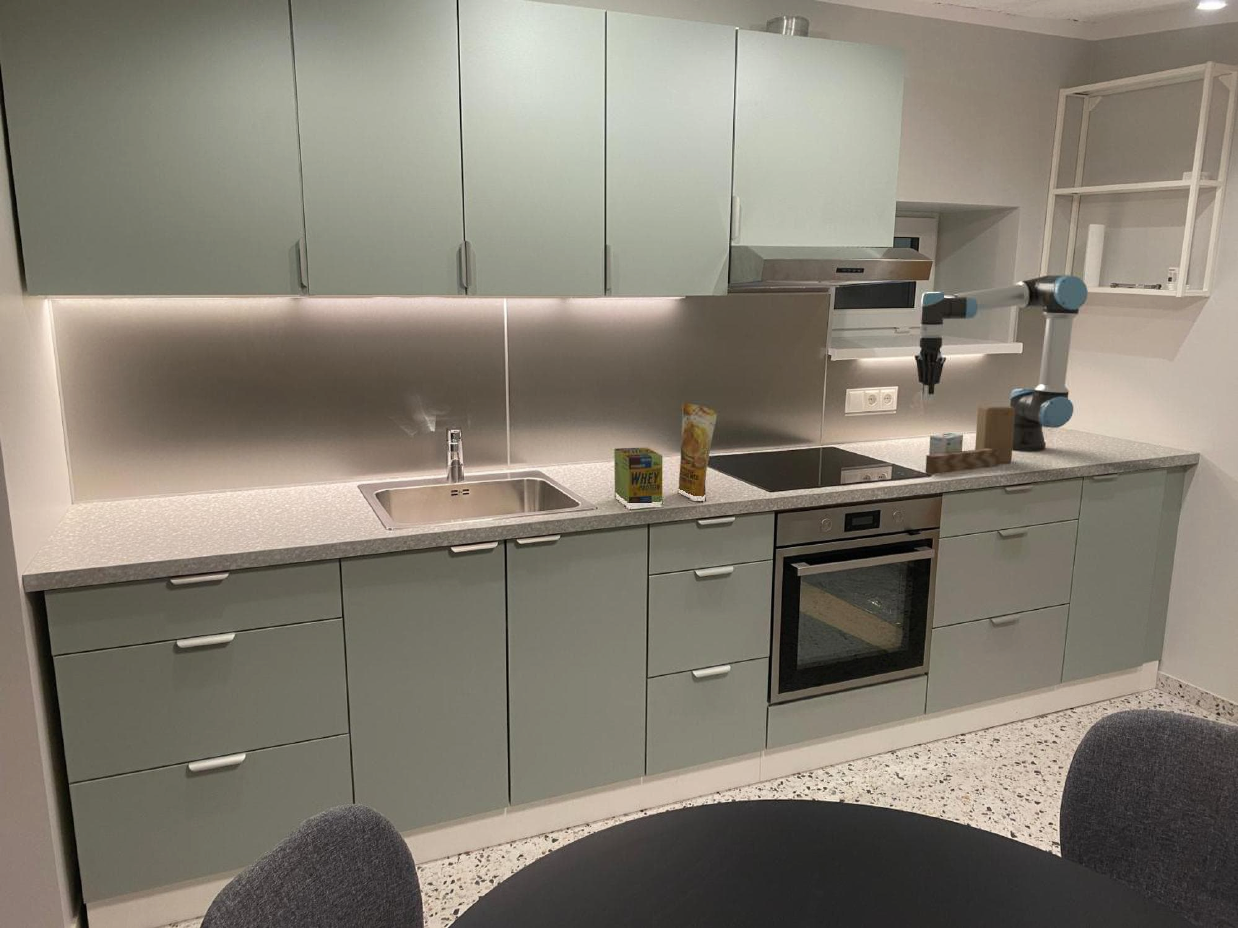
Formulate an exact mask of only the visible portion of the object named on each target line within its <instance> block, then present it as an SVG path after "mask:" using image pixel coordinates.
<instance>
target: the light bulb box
mask: <svg viewBox="0 0 1238 928" xmlns="http://www.w3.org/2000/svg"><path fill="white" fill-rule="evenodd" d="M963 440H964V434H961V433H952V432H951V433H950V432H944V433H939V434H934V435H930V436H929V447H928V448H929V451H928V455H934V454H942V453H951V452H959V451H963Z"/></svg>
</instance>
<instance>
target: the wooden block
mask: <svg viewBox="0 0 1238 928" xmlns="http://www.w3.org/2000/svg"><path fill="white" fill-rule="evenodd" d="M976 417H977V418H976V429H975V430H976V433H975V446H974V448H975V449H974V450H977V449H985V448H996V449H999V457H998V465H999V464H1007V465H1008V464H1011V462H1012V459H1013V450H1012V447H1013V433H1014V420H1015V408H1013V407H1011V406H1010V405H1007V404H1004V403H981V404H978V406H977V416H976Z"/></svg>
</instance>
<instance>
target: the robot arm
mask: <svg viewBox="0 0 1238 928" xmlns="http://www.w3.org/2000/svg"><path fill="white" fill-rule="evenodd" d="M1088 294H1089V292H1088V287H1087V285H1086V283H1085V282H1084V280H1082V279H1081V278H1080V277H1079V276H1076V275H1072V274H1071V275H1070V274H1064V275H1063V274H1061V275H1059V274H1058V275H1051V274H1050V275H1044V276H1040V277H1036V278H1035V277H1034V278H1031V279H1026V280H1020V281H1018V282H1016V283H1015V284H1013V285H1008V286H1006V285H1005V286H1000V287H994V288H987V289H980V290H974V291H968V292H962V293H961V292H960V293H955V294H948V295H945V292H943V291H927V292H923V294H922V296H921V302H920V328H919V329H920V332H919V336H921V337H920V338H919V348H920V351H919V354H918V355H914V359H915V361H916V369H917V376H918V382H919V383H921V384H922V385H923V387H922V393H923V404H925V405H926V404H927V405H928V404H929V405H930V404H933V401H934V400H933V398H934V397H933V395H934V393H935V385H938V384H939V383H940V381H941V377H942V372H943V368H944V364H945V362H946V360H947V358H946V357H945V356H944V357H943V356H942V352H941V348H943V347H942V346H943V337H942V336H943V333H944V332H943V330H944V320H962V319H963V320H967V319H973V318H975V317H976V315H977V313H978V312H985V311H989V310H990V311H991V310H996V309H1004V308H1005V309H1006V308H1010V307H1016V306H1017V307H1019V308H1030V307H1031V308H1042V315H1044V317H1045V319H1046V320H1045V321H1046V322H1045V328H1044V329H1045V331H1044V336H1043V337H1044V338H1043V339H1044V340H1043V345H1042V346H1043V347H1042V355H1041V364H1040V373H1039V380H1038V385H1037V386H1035V387H1034V388H1031V387H1030V388H1014V389H1013V390H1012V391H1011V395H1010V398H1009V399H1010V403H1009V404H1010V405H1009V406H1011V407H1013V408H1015V420H1014V433H1013V447H1012V451H1016V452H1017V451H1018V452H1019V451H1020V452H1041V451H1045V450H1046V445H1047V443H1046V441H1045V438H1044V432H1043V427H1045V428H1051V429H1052V428H1053V429H1057V428H1061V427H1063V426H1064V425H1066V424H1067V423H1068V422H1069V421H1070V420H1071V418H1072V416H1073V414H1074V404H1073V402H1072V401H1071V400H1070V399H1069V392H1070V391H1069V389H1068V388H1067V387H1066V380H1067V371H1068V364H1069V363H1068V362H1069V354H1070V346H1071V340H1072V339H1071V338H1072V330H1073V320H1074V319H1075V318H1076V317H1077V316H1078V315H1079V311H1080V308H1081V307H1082V306H1083V305H1084V304H1085V303H1086V301H1087V299H1088Z"/></svg>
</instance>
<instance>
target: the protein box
mask: <svg viewBox="0 0 1238 928" xmlns="http://www.w3.org/2000/svg"><path fill="white" fill-rule="evenodd" d="M613 453H614V456H613V457H614V458H613V459H614V461H613V462H614V494H615V493H617V494H618V495H619V496H620V497H621V498H623V499H624V500H625V501H627V503H652V502H661V501H662V502H663V455H662V454H660V453H658V452H657V451H655V450H653V449H651V448H649V447H647V446H646V447H642V446H641V447H622V448H614V451H613Z"/></svg>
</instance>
